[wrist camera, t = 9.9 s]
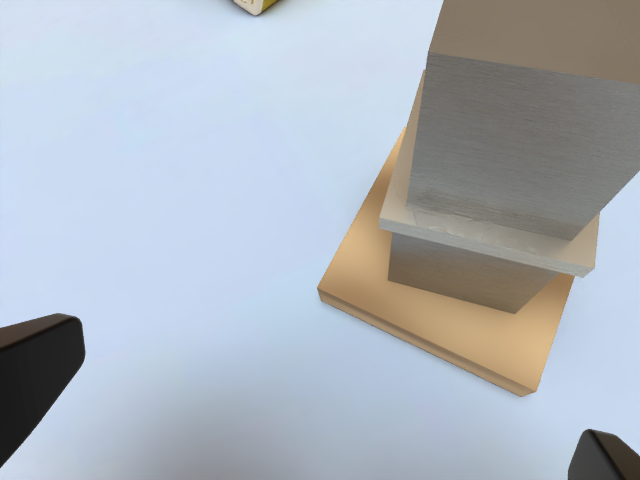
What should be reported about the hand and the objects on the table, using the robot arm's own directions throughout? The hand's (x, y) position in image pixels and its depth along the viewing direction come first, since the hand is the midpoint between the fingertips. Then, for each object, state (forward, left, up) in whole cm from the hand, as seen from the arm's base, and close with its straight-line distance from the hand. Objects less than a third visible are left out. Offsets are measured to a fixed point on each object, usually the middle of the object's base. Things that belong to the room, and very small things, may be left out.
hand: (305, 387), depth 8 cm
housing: (+10, -1, -12) cm, 15 cm away
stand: (+10, -1, -14) cm, 17 cm away
